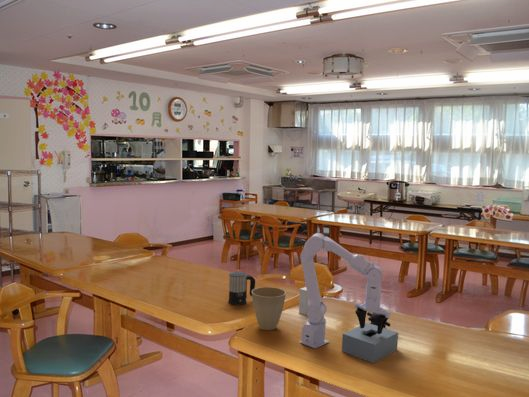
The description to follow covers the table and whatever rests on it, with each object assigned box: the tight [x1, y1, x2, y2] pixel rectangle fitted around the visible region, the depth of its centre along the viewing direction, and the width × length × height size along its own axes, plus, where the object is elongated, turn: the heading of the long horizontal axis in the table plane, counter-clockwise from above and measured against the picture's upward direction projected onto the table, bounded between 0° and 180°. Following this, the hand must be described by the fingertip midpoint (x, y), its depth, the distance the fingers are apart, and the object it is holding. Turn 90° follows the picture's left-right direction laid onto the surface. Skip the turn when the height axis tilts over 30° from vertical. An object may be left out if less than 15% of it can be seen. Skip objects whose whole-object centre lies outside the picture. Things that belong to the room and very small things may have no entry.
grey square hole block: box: [341, 322, 399, 364], centre depth 181 cm, size 18×14×7 cm
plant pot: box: [251, 286, 287, 331], centre depth 200 cm, size 15×15×16 cm
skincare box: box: [298, 286, 309, 316], centre depth 221 cm, size 6×4×12 cm
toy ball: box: [366, 311, 391, 328], centre depth 204 cm, size 10×10×11 cm
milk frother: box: [227, 271, 256, 306], centre depth 237 cm, size 14×16×15 cm
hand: (370, 330), depth 180 cm, fingers open, 7 cm apart
